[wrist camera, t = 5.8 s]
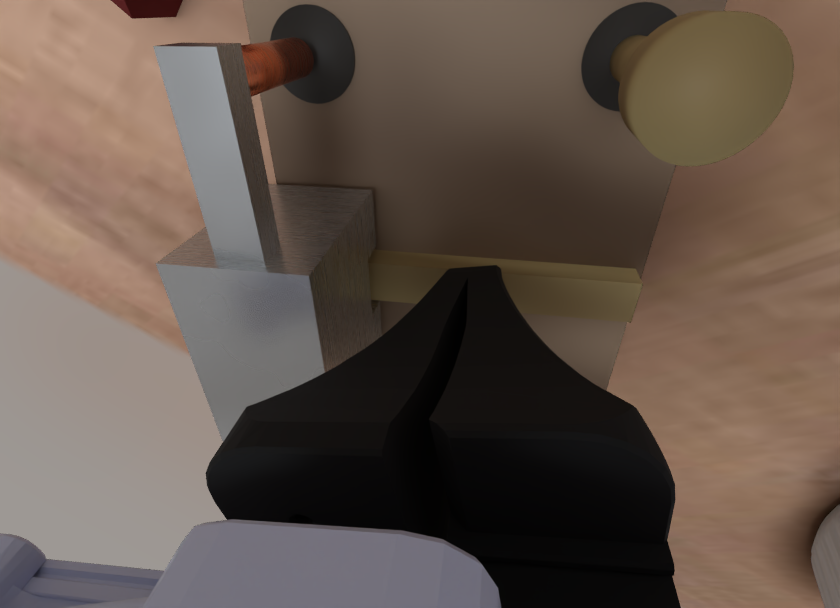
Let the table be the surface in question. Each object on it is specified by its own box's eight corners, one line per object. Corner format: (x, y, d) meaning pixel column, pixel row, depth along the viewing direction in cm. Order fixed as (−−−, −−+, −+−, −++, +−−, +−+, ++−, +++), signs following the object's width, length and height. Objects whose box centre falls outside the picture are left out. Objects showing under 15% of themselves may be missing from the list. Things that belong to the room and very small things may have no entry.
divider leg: (382, 341, 14) (338, 457, 11) (294, 332, 15) (222, 440, 11) (362, 31, 10) (271, 48, 6) (233, 31, 10) (73, 47, 6)
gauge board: (599, 372, 15) (637, 527, 11) (319, 343, 17) (249, 469, 12) (757, -167, 8) (1065, -379, 4) (240, -138, 9) (-6, -267, 5)
